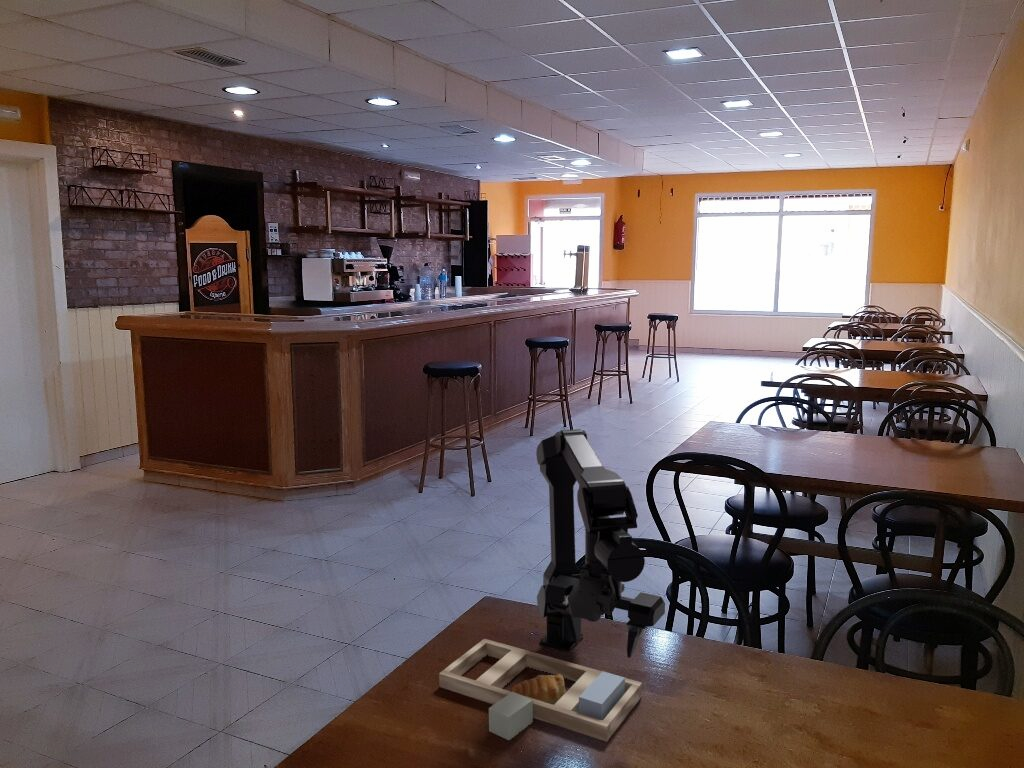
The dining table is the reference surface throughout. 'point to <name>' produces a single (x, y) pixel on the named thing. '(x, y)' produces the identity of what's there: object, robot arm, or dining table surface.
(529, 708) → the block
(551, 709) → the frame
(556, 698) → the pastry
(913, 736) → the dining table surface
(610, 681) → the wing block
